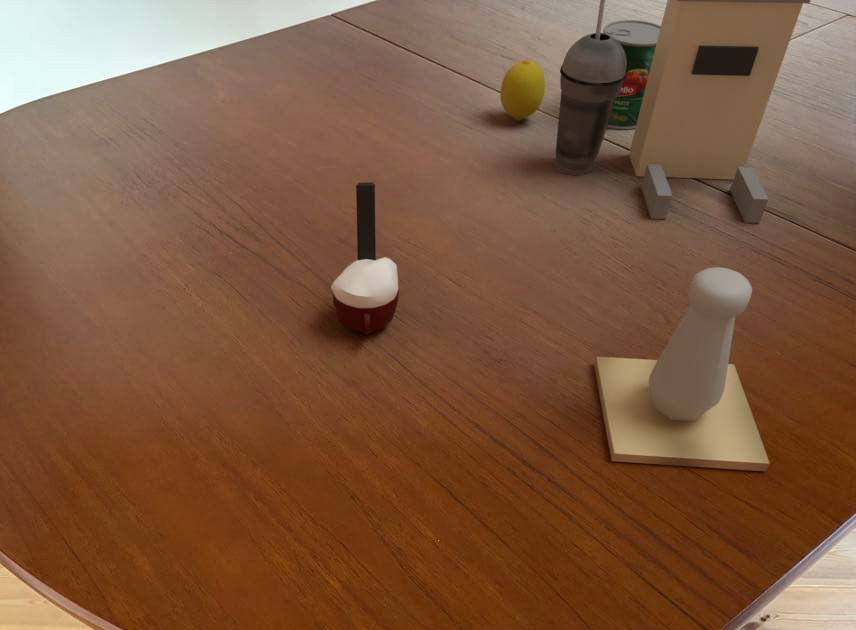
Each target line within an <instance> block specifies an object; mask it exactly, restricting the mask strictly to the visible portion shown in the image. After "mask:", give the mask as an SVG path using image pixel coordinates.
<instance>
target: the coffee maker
mask: <svg viewBox="0 0 856 630" xmlns="http://www.w3.org/2000/svg"><path fill="white" fill-rule="evenodd" d="M810 3H811V0H666V4H665V9H664V13H663V17H662V20H661V25H660V26H661V28H660V32H659V36H658V40H657V44H656V48H655V52H654V56H653V60H652V64H651V68H650V72H649V76H648V80H647V84H646V88H645V92H644V96H643V100H642V104H641V108H640V112H639V116H638V120H637V124H636V128H635V129H634V133H633V137H632V141H631V145H630V148H629V153H628V156H629V159H630V161H631V165H632V168H633V171H634V174H635V176H636V177H643V178H642V181H641V186H640V188H641V191H642V194H643V198H644V202H645V204H646V207H647V210H648V214H649V216H650V219H651V220H666V219H667V215H668V212H669V209H670V206H671V202H672V199H673V193H672V190H671V188H670V185H669V181H668V180H667V178H677V179H678V178H679V179H701V180H703V179H704V180H730V181H731V180H732V183H731V186H730V188H729V192H730V194H731V196H732V198H733V200H734V203H735V204H736V207H737V210H738V211H739V214H740V216H741V218H742V220H743V222H744V224H745V223H746V224H749V223H750V224H760V223H761V221H762V218H763V216H764V213H765V210H766V207H767V205H768V202H769V197H768V195H767V193H766V191H765V189H764V187H763V184H762V183H761V181H760V179H759V178H758V175H757V174H756V172H755V170H754V168H753V167H749V166H747V162H748V160H749V157H750V155H751V152H752V148H753V145H754V143H755V140H756V137H757V135H758V132H759V129H760V126H761V123H762V120H763V117H764V114H765V112H766V109H767V106H768V103H769V101H770V97H771V94H772V93H773V89H774V86H775V83H776V81H777V78H778V75H779V73H780V69H781V66H782V64H783V61H784V58H785V55H786V54H787V53H786V52H787V49H788V47H789V45H790V41H791V39H792V35H793V33H794V30H795V27H796V25H797V22H798V19H799V16H800V13H801V10H802V7H803V5H804V4H810ZM746 166H747V167H746Z"/></svg>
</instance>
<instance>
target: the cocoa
mask: <svg viewBox="0 0 856 630" xmlns="http://www.w3.org/2000/svg"><path fill="white" fill-rule="evenodd" d="M355 196H356V198H355V199H356V243H357V244H356V245H357V246H356V247H357V249H356V250H357V252H356V253H357V259H356V260H354V261H353V262H352V263H350V264H349V265H348V266H347V267H345V268H344V269H343V271H342V272H341V273H340V274H339V276H337V277H336V278H335V280H333V282H332V284H331V286H330V289H331V291H332V302H333V305H334V309H335V312H336V314H337V317H338V319H339V321H340V322H341V323H342V324H343V325H344V327H347V328H348V329H350V330H351V331H356V332H359V333H363V334H364V335H370V333H372V332H376V331H380V330H382V329H384V328H385V327H386V326H387V325H388V324H389V323H390V322H392V320H393V318H394V316H395V313H396V309H397V306H398V302H399V297H400V288H399V276H398V267H397V264H396V263H395V262H394V261H393V260H392V259H391V258H389V257H381V258H377V257H376V255H377V253H376V249H377V248H376V247H377V245H376V184H375V183H373V182H371V181H370V182H369V181H368V182H358V183H357V184H356V185H355Z"/></svg>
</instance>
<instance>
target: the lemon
mask: <svg viewBox="0 0 856 630" xmlns="http://www.w3.org/2000/svg"><path fill="white" fill-rule="evenodd" d="M545 91H546V80H545V75H544V73H543V71H542V69H541V68H540V66H539V65H538V64H536V63H535V62H534V61H533V62H532V61H531V60H530V59H529V58H525V59H524V60H521V61H519V62H516V63H514V64H513V65H511V67H509V69H508V70H507V71H506V72H505V74H504V77H503V79H502V82H501V86H500V95H499V96H500V103H501V106H502V108H503V109H504V112H506V113H507V114H508V115H509V116H511V117H513V118H514V119H515V120H516V121H521V120H522V119H524V118H528V117H530V116H531V115H533V114H534V113H536V112H537V110H539V108H540V106H541V105H542V102H543V100H544V97H545V96H544V95H545V93H546V92H545Z"/></svg>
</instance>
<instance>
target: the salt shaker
mask: <svg viewBox="0 0 856 630" xmlns="http://www.w3.org/2000/svg"><path fill="white" fill-rule="evenodd" d="M752 293H753V287H752V285H751V283H750V281H749V280H748V278H746V277H745V276H744V275H743V274H741V273H740V272H739V271H736V270H733V269H732V268H731V269H730V268H727V267H722V266H721V267H720V266H714V267H708V268H705V269H703V270H700V271H698V272H697V273H695V274H694V276H693V278H692V280H691V283H690V284H689V287H688V290H687V299H688V300H687V301H688V302H689V307H688V309H687V310H686V312H685V314H684V315H683V317H682V319H681V320H680V321H679V324H678V325H677V327H676V329H675V331H674V332H673V333H672V336H671V337H670V339H669V340H668V343H667V344H666V345H665V347H664V349H663V350H662V352H661V354H660V356H659V358H658V359H657V360H658V361H657V363H656V364H655V366H654V368H653V370H652V372H651V374H650V376H649V385H650V389H651V393H652V398H653V404H654V408H655V409H657V410H658V411H659V412H661V413H662V414H664V415H665V416H666V417H668V418H669V419H671V420H680V421H695V420H696V419H697V418H699V417H700V416H701V415H702V414H704V413H705V412H706V411H708V410H709V409H711V408H712V407H714V406H715V405H717V404H718V402H719V401H720V400H721V397H722V395H723V392H724V389H725V382H726V375H727V368H728V364H729V361H730V355H731V354H730V353H731V347H732V341H733V333H734V327H735V321H736V317H738V316H739V315H741V314H743V312H745V311H746V309H747V307H748V305H749V303H750V300H751V297H752Z"/></svg>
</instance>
